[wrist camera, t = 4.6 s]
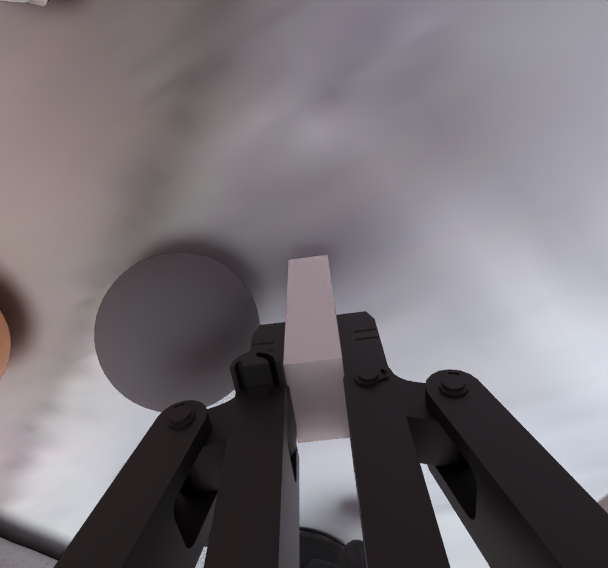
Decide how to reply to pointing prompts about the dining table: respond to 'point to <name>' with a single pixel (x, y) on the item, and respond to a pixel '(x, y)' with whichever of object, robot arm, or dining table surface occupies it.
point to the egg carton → (31, 1)
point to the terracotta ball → (4, 344)
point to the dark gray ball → (174, 330)
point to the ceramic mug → (22, 557)
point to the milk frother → (327, 552)
